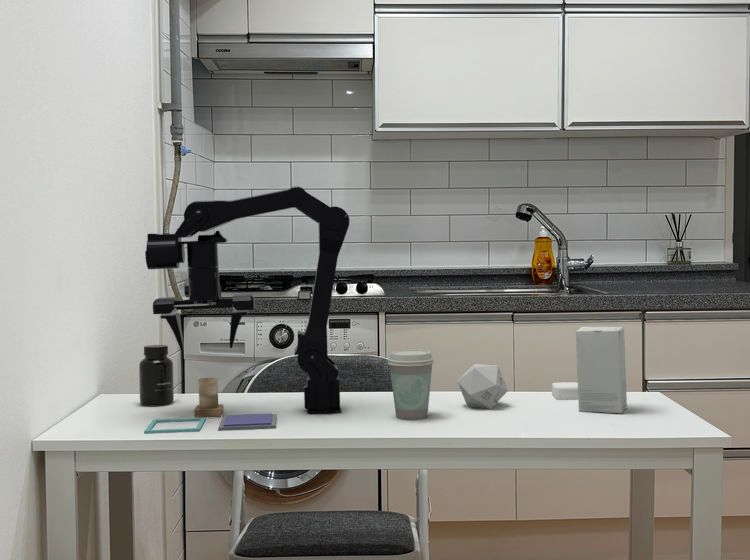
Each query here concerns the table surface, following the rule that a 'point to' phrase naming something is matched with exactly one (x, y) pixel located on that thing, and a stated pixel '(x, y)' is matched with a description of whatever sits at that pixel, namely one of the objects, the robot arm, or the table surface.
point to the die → (482, 386)
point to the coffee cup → (411, 382)
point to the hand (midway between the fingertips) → (206, 349)
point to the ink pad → (248, 421)
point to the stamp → (208, 399)
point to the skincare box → (601, 369)
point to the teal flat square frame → (198, 428)
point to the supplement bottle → (156, 376)
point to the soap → (565, 391)
